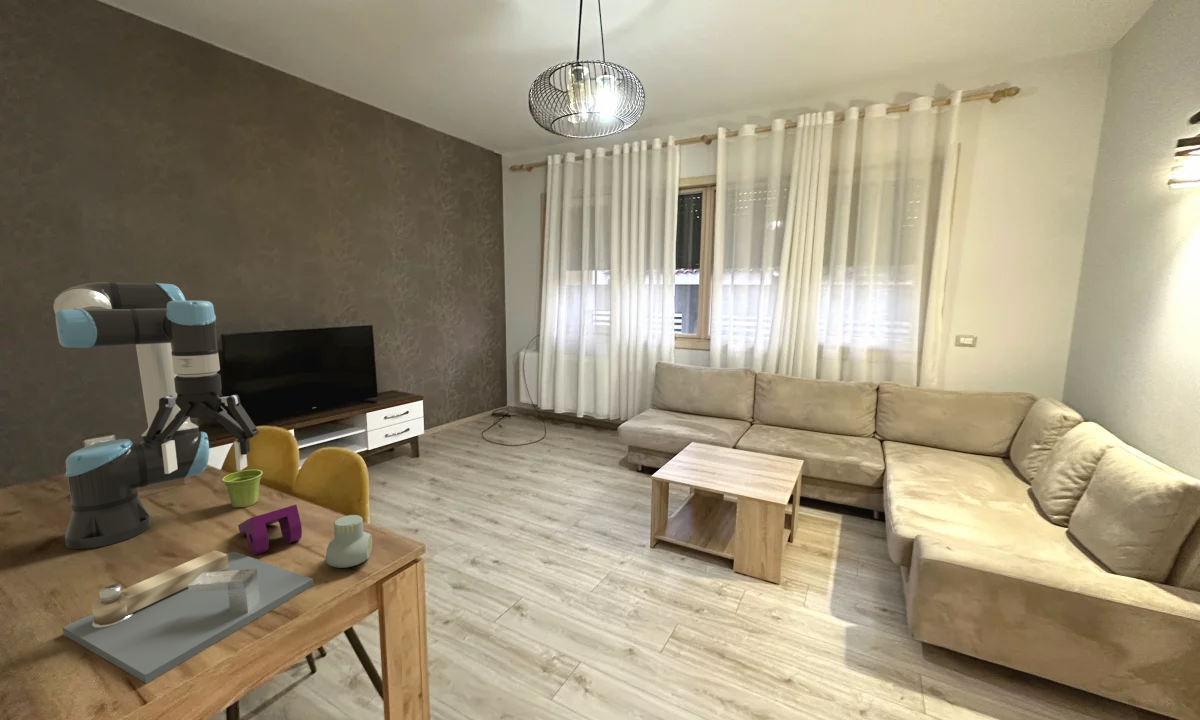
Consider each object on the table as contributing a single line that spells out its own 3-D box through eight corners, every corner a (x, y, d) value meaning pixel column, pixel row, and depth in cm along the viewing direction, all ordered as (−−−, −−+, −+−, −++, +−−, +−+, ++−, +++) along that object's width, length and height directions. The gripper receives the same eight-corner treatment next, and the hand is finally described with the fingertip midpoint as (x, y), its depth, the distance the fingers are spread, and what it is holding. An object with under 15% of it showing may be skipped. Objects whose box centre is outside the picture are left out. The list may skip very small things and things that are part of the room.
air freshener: (365, 571, 106) (363, 529, 105) (324, 576, 104) (321, 534, 102) (374, 546, 116) (372, 507, 115) (336, 551, 114) (334, 512, 113)
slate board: (63, 634, 85) (62, 627, 85) (233, 557, 111) (233, 551, 111) (146, 683, 75) (145, 674, 75) (313, 585, 100) (312, 578, 100)
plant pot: (270, 501, 140) (268, 473, 139) (233, 513, 132) (230, 484, 131) (256, 494, 145) (254, 467, 144) (219, 505, 137) (216, 477, 136)
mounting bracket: (241, 559, 120) (258, 553, 109) (234, 527, 122) (250, 517, 110) (283, 545, 128) (304, 537, 116) (277, 514, 129) (296, 504, 118)
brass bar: (102, 627, 84) (100, 612, 84) (88, 619, 86) (86, 604, 86) (229, 567, 103) (228, 554, 103) (215, 562, 105) (214, 549, 105)
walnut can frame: (79, 494, 143) (78, 485, 143) (157, 473, 161) (156, 465, 160) (112, 506, 136) (111, 496, 136) (190, 482, 154) (189, 473, 153)
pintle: (85, 622, 86) (81, 593, 85) (125, 604, 91) (122, 576, 90) (101, 631, 84) (97, 601, 83) (141, 612, 89) (138, 583, 88)
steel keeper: (191, 617, 88) (187, 585, 87) (205, 603, 92) (202, 572, 91) (248, 612, 89) (245, 580, 89) (259, 599, 93) (256, 568, 92)
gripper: (113, 377, 94) (126, 479, 97) (253, 376, 98) (261, 473, 101) (142, 371, 101) (153, 466, 104) (271, 370, 106) (278, 461, 109)
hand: (207, 470), depth 103 cm, fingers open, 13 cm apart
